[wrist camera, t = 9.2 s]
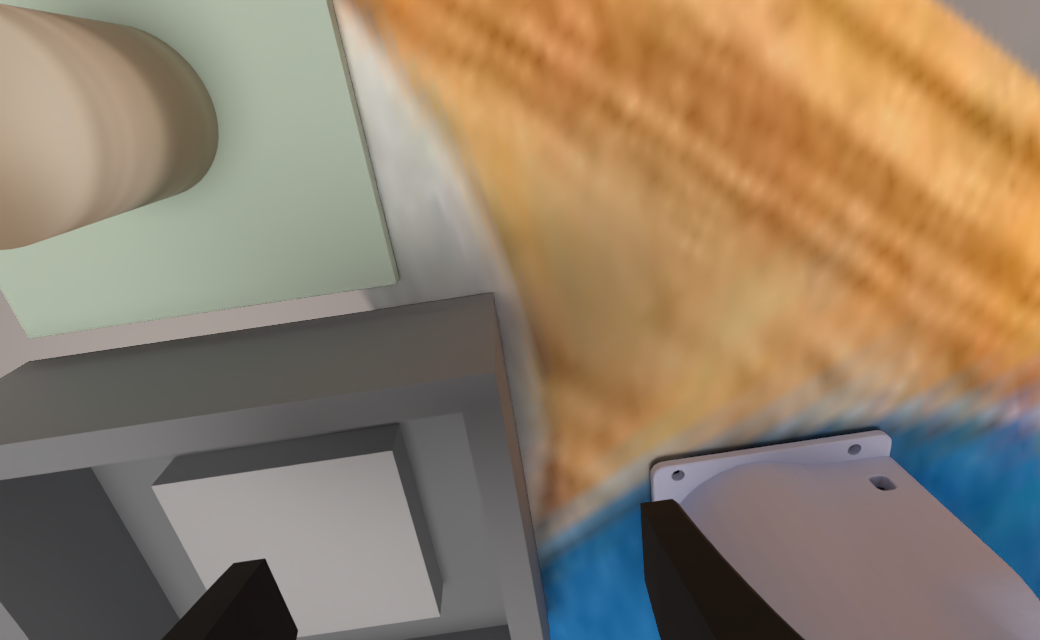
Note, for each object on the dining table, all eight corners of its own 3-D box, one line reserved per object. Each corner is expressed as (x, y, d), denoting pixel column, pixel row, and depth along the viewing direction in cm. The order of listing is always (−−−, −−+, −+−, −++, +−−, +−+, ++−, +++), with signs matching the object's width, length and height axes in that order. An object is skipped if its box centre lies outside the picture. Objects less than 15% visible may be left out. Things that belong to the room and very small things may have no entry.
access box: (493, 292, 18) (495, 371, 13) (547, 613, 24) (562, 749, 19) (29, 361, 18) (-149, 467, 13) (205, 663, 25) (132, 811, 20)
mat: (285, -191, 13) (276, -203, 12) (399, 277, 18) (396, 283, 17) (-206, -115, 13) (-237, -124, 12) (42, 330, 18) (28, 338, 17)
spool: (180, 11, 14) (3, -34, 9) (241, 185, 16) (124, 232, 11) (10, 37, 14) (-264, 8, 9) (90, 208, 16) (-99, 265, 11)
